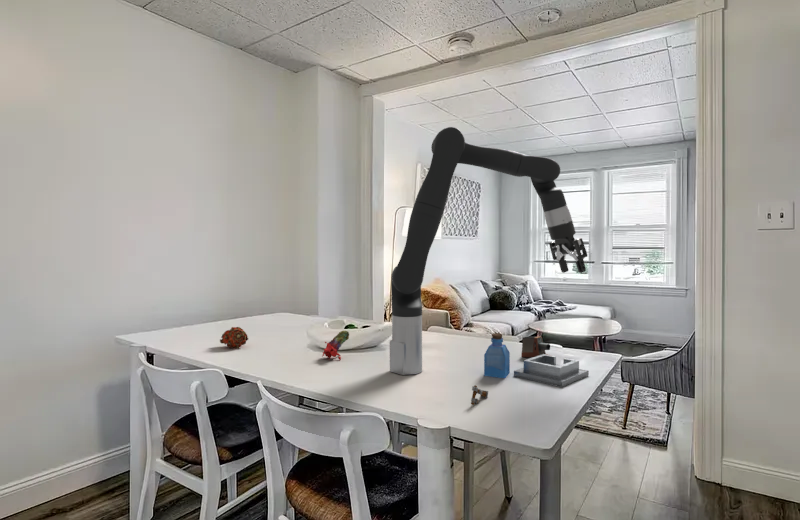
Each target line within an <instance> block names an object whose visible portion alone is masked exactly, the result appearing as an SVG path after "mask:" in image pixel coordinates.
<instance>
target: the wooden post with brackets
mask: <svg viewBox="0 0 800 520" xmlns="http://www.w3.org/2000/svg"><path fill="white" fill-rule="evenodd" d="M471 391H472V397H471V398H470V401H471V402H470V404H471V405H473V406H474V405H475V404H479V402H480V399H478V398H476V396H477V394H478V395H480V396H479V398H483V399H488V398H489V397H488V395H489V391H488V390H483V389H480V388H478V386H477V385H473V386H472V387H471Z"/></svg>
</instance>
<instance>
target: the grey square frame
mask: <svg viewBox="0 0 800 520" xmlns="http://www.w3.org/2000/svg"><path fill="white" fill-rule="evenodd" d="M562 362H563V364H557V356H555V355H550V354H548V355H545V354H542V355H539V356H536V357H533V358H527V359H525V360H523V367H521V368H517V369H516V370H513V376H514V377H516V378H520V379H521V378H522V379H525V380H529V381H534V382H538V383H543V384H546V385H547V384H548V385H550V386H555V387H559V388H564V387H566V386H569V385H570V384H573V383H575V382H578V381H580V380H582V379H584V378H587V377H589V376H588V375H589V370H586V369H583V368H580V360H576V359H571V358H566V357H565V358H563V361H562ZM586 376H587V377H586ZM583 377H584V378H583ZM581 378H582V379H581ZM579 379H580V380H579ZM577 380H578V381H577ZM574 381H575V382H574Z"/></svg>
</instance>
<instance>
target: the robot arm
mask: <svg viewBox="0 0 800 520" xmlns="http://www.w3.org/2000/svg"><path fill="white" fill-rule="evenodd" d="M465 140H466V139H465V136H464V134H463V133H462V131H461V130H460V129H459V128H457V127H454V126H449V127H446V128H443V129H441V130H440V131H439V132H438V133H437V134H436V136H435V137H434V138H433V141H432V142H431V143H432V144H431V152H432V157H431V161H430V165H429V169H428V171H427V174H426V176H425V178H424V180H423V182H422V184H421V186H420V189H419V190H418V192H417V196H416V198H415V201H414V204H413V206H412V207H413V208H412V210H411V213H410V217H409V222H408V229H407V234H406V241H405V244H404V245H405V246H404V248H403V251H402V254H401V255H400V259H399V261H398V263H397V265H396V266H395V267H394V268H393V270H392V273H391V339H390V340H389V372H391V373H395V374H397V375H398V374H399V375H401V376H406V375H415V374H416V375H417V374H421V372H423V305H422V284H423V281H424V276H425V269H426V265H427V260H428V257H429V253H430V250H431V247H432V245H433V243H434V240H435V238H436V235H437V232H438V230H439V227H440V225H441V221H442V218H443V216H444V212H445V210H446V209H445V208H446V205H447V202H448V197H449V193H450V188H451V183H452V179H453V176H454V173H455V171H456V168H457V166H458V164H460V165H461V164H462V165H463V164H464V165H467V166H474V167H480V168H483V169H487V170H491V171H495V172H498V173H499V172H500V173H502V174H506V175H510V176H514V177H518V178H522V177H527V178H528V177H529V178H530V182H531V184H532V185H533V188H534V190H535V192H536V194H537V195H538V197H539V199H540V202H541V207H542V209H543V213H544V219H545V224H546V226H547V231H548V233H549V236H550V240H552V241H551V242H549V243H548V245H549V249H550V252H551V256H552V259H553V261H556V262H558V264H559V268H560V271H561V273H563V274H565V273H567V272H569V266H568V262H567V261H566V256H567V255H568V256H570V257H572V258H573V259H574V261H575V264H576V267H577V268H576V269H577V271H578V273H580V274H581V273H584V272H586V268H587V267H586V265H585V262H584V259H585V258H587V257H588V253H587V250H586V245H585V243H584V241H583V238H582V237H579V238H576V239H575V236H574V235H576V230H575V225H574V221H573V219H572V215H571V212H570V209H569V208H568V203H567V201H566V197H565V195H564V192H563V190H562V189H561V188H558V187H557V184H556V183H555V180H557V179H558V178H559V176H560V174H561V167H560V164H559V163H558V162H557V161H556V160H554V159H552V158H549V157H544V156H537V155H529V154H528V155H527V154H524V153H522V152H521V153H520V152H517V151H514V150H509V149H504V148H498V147H487V146H480V145H475V144H471V143H468V142H466V141H465Z"/></svg>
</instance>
